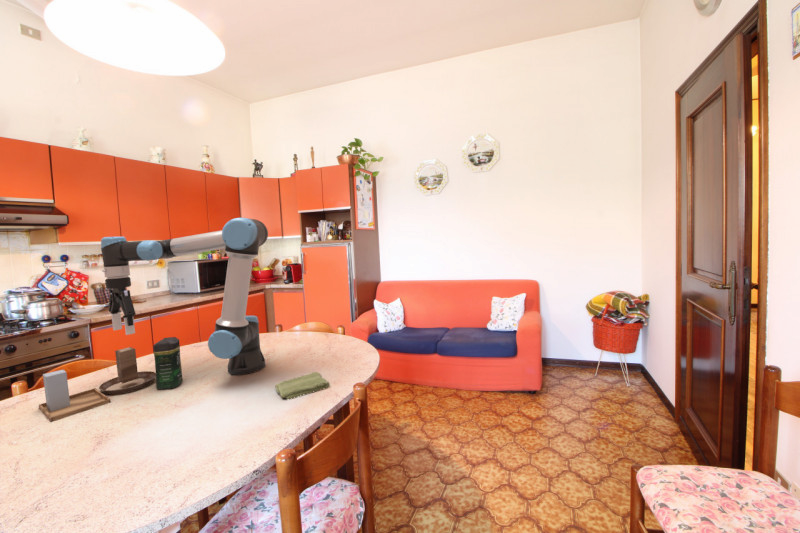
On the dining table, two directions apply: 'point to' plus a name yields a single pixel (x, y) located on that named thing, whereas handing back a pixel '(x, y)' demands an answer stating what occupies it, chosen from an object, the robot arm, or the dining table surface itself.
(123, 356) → the labelled carton
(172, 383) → the coffee jar
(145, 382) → the plant saucer
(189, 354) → the dining table surface
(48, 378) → the plain carton
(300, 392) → the washcloth
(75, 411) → the parts tray
